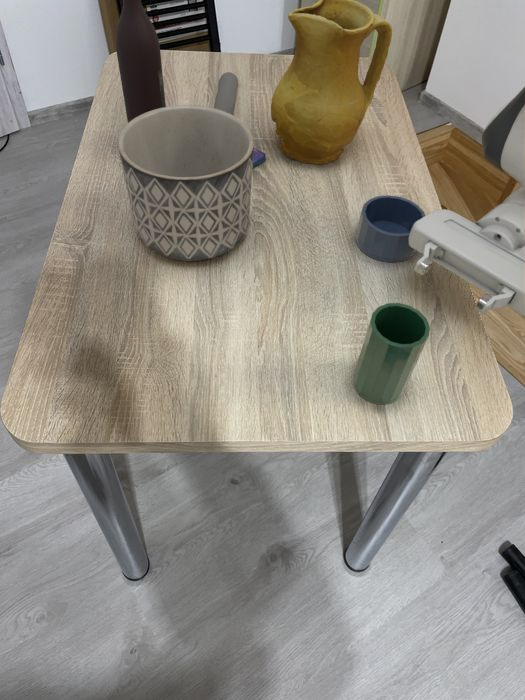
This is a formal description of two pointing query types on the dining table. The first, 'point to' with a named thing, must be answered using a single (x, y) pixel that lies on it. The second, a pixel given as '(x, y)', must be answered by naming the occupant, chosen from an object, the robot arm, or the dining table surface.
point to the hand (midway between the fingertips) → (449, 288)
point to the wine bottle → (139, 61)
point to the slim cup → (390, 352)
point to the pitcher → (327, 79)
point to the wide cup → (387, 228)
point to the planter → (188, 180)
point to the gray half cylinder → (226, 93)
